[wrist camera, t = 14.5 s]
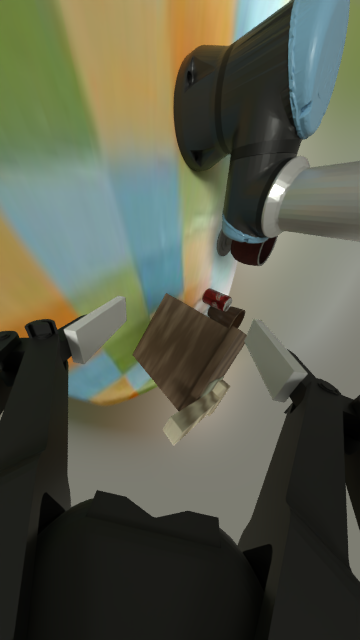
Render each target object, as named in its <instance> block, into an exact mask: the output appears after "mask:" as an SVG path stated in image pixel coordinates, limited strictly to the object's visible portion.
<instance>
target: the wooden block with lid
mask: <svg viewBox="0 0 360 640" xmlns="http://www.w3.org/2000/svg"><path fill="white" fill-rule="evenodd" d="M246 336H247V335H246V334H245V333H243V332H242V331H241V330H239V329H237V328H235V327H234V326H232V328H231V329H228V328H227V327H225V326H223V325H221V324H220V323H218V322H216V321H214V320H212V319H211V318H209V317H207V316H205V315H204V314H202V313H200V312H198V311H197V310H195V309H193V308H191V307H190V306H188V305H186V304H184V303H183V302H181V301H179V300H177V299H176V298H174V297H172V296H170V295H169V294H167V293H166V294H165V296H164V298H163V300H162V302H161V303H160V305H159V307H158V309H157V311H156V313H155V314H154V316H153V318H152V320H151V322H150V324H149V326H148V327H147V329H146V331H145V333H144V335H143V337H142V338H141V340H140V342H139V344H138V346H137V348H136V349H135V351H134V353H133V356H134V357H135V358H136V360H137V361H138V362H139V363H140V365H141V366H142V367H143V368H144V369H145V371H146V372H147V373H148V374H149V376H150V377H151V378H152V379H153V380H154V382H155V383H156V384H157V385H158V387H159V388H160V389H161V390H162V391H163V393H164V394H165V395H166V396H167V398H168V399H169V400H170V401H171V402H172V404H173V405H174V406H175V407H176V409H177V410H178V411H181V410H182V409H184V408H186V407H187V406H189V405H190V404H192V403H194V402H195V401H197V400H198V399H200V398H202V397H203V396H205V395H206V394H208V393H210V392H211V391H212V390H213V389H214V387H215V386H216V384H217V383H218V381H220V380H222V379H223V378H224V375H225V373H226V372H227V370H228V369H229V367H230V366H231V364H232V363H233V361H234V359H235V358H236V356H237V355H238V353H239V352H240V350H241V349H242V347H243V345H244V344H245V342H244V340H245V338H246Z"/></svg>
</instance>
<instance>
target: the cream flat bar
mask: <svg viewBox="0 0 360 640" xmlns="http://www.w3.org/2000/svg"><path fill="white" fill-rule="evenodd" d="M229 388H230V385H228V384H227V383H226V382H225V381H223V380H220V381H218V383H217V384H216V386H215V387H214V389H213V390H212V391H211V392H210V393H208V394H206V395H205V396H203V397H202V398H200V399H198V400H197V401H195V402H194V403H192V404H190V405H189V406H187V407H186V408H184V409H182V410H181V411H179V412H178V413H176V414H174V415H173V416H171V417H170V419H169V420H168V422H167V424H166V425H165V427H164V428H163V431H164V433H165V434H166V435H167V437H168V438H169V440H170V441H171V443H172V444H173V446H174V445H175V444H176V443H177V442H178V441H179V440H181V438H183V437H184V436H185V435H186V434H187V433H188V432H189V431H190V430H191V429H192V428H193V427H194V426H195V425H196V424H198V423H199V422H200V421H201V420H202V419H203V418H204V417H205V416H206V415H208V416H210V415H211V414H212V413H213V412H214V410H215V409H216V407H217V406H218V404H219V403H220V401H221V400H222V398H223V397H224V395H225V394H226V392H227V391H228V389H229Z"/></svg>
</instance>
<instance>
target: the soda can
mask: <svg viewBox="0 0 360 640" xmlns="http://www.w3.org/2000/svg"><path fill="white" fill-rule="evenodd" d="M202 300H203V302H204V303H206V304H208V305H210V306H212V307H214V308H216V309H218V310H220V311H222V312H225V311H227V310H228V309H229V307H230V306H231V303H232V298H231V297H229V296H227V295H225V294H222V293H220V292H218V291H215V290H213V289H210V288H209V289H207V290H206V291H205V292H204V294H203V296H202Z"/></svg>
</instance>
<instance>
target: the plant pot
mask: <svg viewBox="0 0 360 640" xmlns="http://www.w3.org/2000/svg"><path fill="white" fill-rule="evenodd" d="M244 315H245V310H242V309H239V308H235V307H231V306H230V307H229V309H228V310H227V311H225V312H222V311H220V310H218V309H216V308H214V307H212V306H211V307H210V308H209V310H208V316H209V317H210V318H211V319H212V320H214V321H216V322H218V323H220V324H221V325H223V326H225V327H227V328H228V329H231V328H232V326H234V327H235V328H237V329H238V327H239V326H240V324H241V322H242V320H243V318H244Z"/></svg>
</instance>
